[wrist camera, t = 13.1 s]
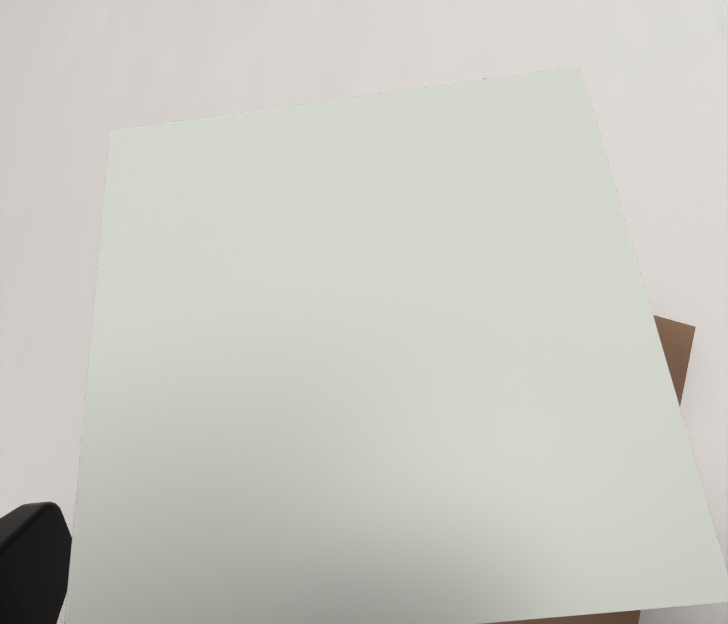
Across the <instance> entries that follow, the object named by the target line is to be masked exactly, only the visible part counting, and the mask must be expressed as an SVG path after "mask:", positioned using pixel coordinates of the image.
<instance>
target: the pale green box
mask: <svg viewBox="0 0 728 624" xmlns="http://www.w3.org/2000/svg"><path fill="white" fill-rule="evenodd" d="M725 602H728V572H727V568H726V565H725V561H724V558H723V555H722V551H721V548H720V544H719V541H718V537H717V534H716V530H715V527H714V524H713V520H712V517H711V513H710V510H709V506H708V503H707V499H706V496H705V493H704V489H703V486H702V482H701V479H700V475H699V472H698V468H697V465H696V461H695V458H694V455H693V451H692V448H691V444H690V441H689V437H688V434H687V430H686V427H685V424H684V420H683V417H682V413H681V410H680V406H679V403H678V399H677V396H676V393H675V389H674V386H673V382H672V379H671V375H670V372H669V368H668V365H667V362H666V358H665V355H664V351H663V348H662V344H661V341H660V337H659V334H658V331H657V327H656V324H655V320H654V317H653V313H652V310H651V306H650V303H649V299H648V296H647V293H646V289H645V286H644V282H643V279H642V275H641V272H640V268H639V265H638V262H637V258H636V255H635V251H634V248H633V244H632V241H631V237H630V234H629V231H628V227H627V224H626V220H625V217H624V213H623V210H622V206H621V203H620V200H619V196H618V193H617V189H616V186H615V182H614V179H613V175H612V172H611V168H610V165H609V162H608V158H607V155H606V151H605V148H604V144H603V141H602V137H601V134H600V131H599V127H598V124H597V120H596V117H595V113H594V110H593V106H592V103H591V100H590V96H589V93H588V89H587V86H586V82H585V79H584V75H583V72H582V69H581V66H576V67H569V68H562V69H555V70H547V71H540V72H533V73H525V74H518V75H511V76H504V77H496V78H489V79H482V80H474V81H467V82H460V83H452V84H445V85H438V86H431V87H423V88H416V89H409V90H401V91H394V92H387V93H379V94H372V95H365V96H358V97H350V98H343V99H336V100H328V101H321V102H314V103H306V104H299V105H292V106H285V107H277V108H270V109H263V110H255V111H248V112H241V113H234V114H226V115H219V116H212V117H204V118H197V119H190V120H182V121H175V122H168V123H161V124H153V125H146V126H139V127H131V128H124V129H117V130H110V138H109V148H108V159H107V170H106V181H105V191H104V202H103V213H102V224H101V234H100V245H99V256H98V266H97V277H96V288H95V299H94V309H93V320H92V331H91V342H90V352H89V363H88V374H87V385H86V395H85V406H84V417H83V428H82V438H81V449H80V460H79V470H78V481H77V492H76V503H75V513H74V524H73V535H72V546H71V556H70V567H69V578H68V589H67V599H66V610H65V621H64V624H482V623H493V622H505V621H517V620H528V619H540V618H551V617H563V616H575V615H586V614H598V613H609V612H621V611H633V610H644V609H656V608H667V607H679V606H691V605H702V604H714V603H725Z"/></svg>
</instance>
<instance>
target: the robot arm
mask: <svg viewBox="0 0 728 624" xmlns="http://www.w3.org/2000/svg"><path fill="white" fill-rule="evenodd" d="M71 546H72V537H71V535H70V532H69V529H68V527H67V524H66V522H65V519H64V517H63V514H62V511H61V509H60V507H59V506H58V505H57V504H55V503H53V502H40V503H30V504H24V505H22V506H20V507H18V508H16V509H15V510H13V511H11V512H10V513H8V514H7V515H5V516H3V517H2V518H0V624H56V623H57V620H58V617H59V614H60V611H61V608H62V605H63V602H64V599H65V596H66V593H67V589H68V578H69V567H70V556H71Z"/></svg>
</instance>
